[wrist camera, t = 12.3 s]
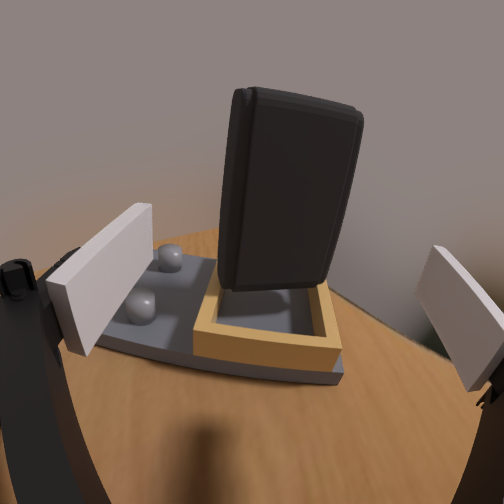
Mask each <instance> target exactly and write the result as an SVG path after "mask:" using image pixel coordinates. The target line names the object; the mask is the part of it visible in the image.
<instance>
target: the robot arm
mask: <svg viewBox="0 0 504 504" xmlns="http://www.w3.org/2000/svg"><path fill="white" fill-rule="evenodd" d="M152 260H153V240H152V204H146V203H135V204H134V205H133V206H131V207H130V208H129V209H127V210H126V211H125V212H124V213H122V214H121V215H120V216H119V217H117V218H116V219H115V220H114V221H112V222H111V223H110V224H109V225H107V226H106V227H105V228H104V229H102V230H101V231H100V232H99V233H98V234H96V235H95V236H94V237H93V238H92V239H90V240H89V241H88V242H87V243H86V244H85V245H83V247H78V248H76V249H74V250H72V251H70V252H68V253H67V254H66V255H64V256H63V257H62V258H61V259H60V261H58V262H56V263H55V264H54V266H53V267H51V268H50V269H49V270H48V271H46V272H45V273H44V274H43V275H42V276H41V277H40V278H39V279H38V280H37V281H36V280H35V276H34V272H33V269H32V265H31V262H30V261H28V260H27V259H14V260H11V261H8V262H6V263H4V264H2V265H1V266H0V295H1V296H0V427H1V428H2V435H3V442H4V448H5V454H6V459H7V464H8V469H9V473H10V478H11V482H12V486H13V489H14V493H15V497H16V500H17V503H18V504H111V502H110V500H109V498H108V496H107V494H106V491H105V489H104V487H103V485H102V483H101V481H100V478H99V476H98V474H97V471H96V469H95V467H94V464H93V462H92V459H91V457H90V454H89V451H88V449H87V446H86V443H85V441H84V438H83V435H82V432H81V429H80V426H79V423H78V420H77V417H76V413H75V410H74V407H73V403H72V400H71V396H70V392H69V388H68V384H67V380H66V376H65V372H64V367H63V363H62V358H61V353H60V350H59V348H58V344H59V343H60V342H61V340H62V339H64V341H65V344H66V347H67V349H68V351H70V352H73V353H76V354H79V355H82V356H85V357H87V356H88V354H89V353H90V351H91V349H92V348H93V346H94V345H95V343H96V341H97V340H98V338H99V337H100V335H101V334H102V332H103V331H104V329H105V328H106V326H107V325H108V323H109V322H110V320H111V319H112V317H113V316H114V314H115V313H116V311H117V310H118V308H119V307H120V305H121V304H122V302H123V301H124V299H125V298H126V296H127V295H128V294H129V292H130V291H131V289H132V288H133V286H134V285H135V284H136V282H137V281H138V279H139V278H140V277H141V275H142V274H143V272H144V271H145V270H146V268H147V267H148V266H149V264H150V263H151V261H152ZM414 294H415V295H416V297H417V299H418V300H419V302H420V304H421V305H422V307H423V309H424V311H425V312H426V314H427V316H428V317H429V319H430V321H431V323H432V325H433V326H434V328H435V330H436V332H437V334H438V335H439V337H440V339H441V341H442V343H443V345H444V347H445V348H446V350H447V352H448V354H449V356H450V358H451V360H452V362H453V364H454V366H455V368H456V370H457V372H458V374H459V376H460V378H461V380H462V383H463V385H464V387H465V389H466V391H467V392H472V391H478V390H480V389H481V388H482V387H483V386H484V384H485V383H486V382H487V381H488V379H489V380H490V382H491V383H492V385H491V386H490V387H489V389H488V390H487V391H486V392H485V394H484V395H483V396H482V397H481V398H480V399H479V401H478V402H477V404H476V406H478V405H479V404H480V403H481V402H484V404H483V405H482V406H481V408H482V409H483V411H482V415H481V419H480V423H479V427H478V430H477V434H476V437H475V441H474V444H473V447H472V450H471V453H470V456H469V459H468V462H467V465H466V468H465V471H464V473H463V476H462V479H461V481H460V484H459V486H458V488H457V491H456V493H455V495H454V498H453V500H452V502H451V504H504V314H503V313H502V312H501V310H500V309H499V308H498V307H497V306H496V304H495V303H494V302H493V301H492V299H491V298H490V297H489V296H488V295H487V293H486V292H485V291H484V290H483V289H482V288H481V286H480V285H479V284H478V283H477V282H476V281H475V280H474V278H473V277H472V276H471V275H470V274H469V273H468V272H467V271H466V270H465V268H464V267H463V266H462V265H461V264H460V263H459V262H458V261H457V260H456V259H455V258H454V257H453V256H452V255H451V254H450V253H449V252H448V251H447V250H446V249H445V248H444V247H440V246H435V245H432V248H431V251H430V254H429V257H428V259H427V262H426V264H425V267H424V270H423V272H422V275H421V277H420V280H419V282H418V285H417V287H416V290H415V292H414Z"/></svg>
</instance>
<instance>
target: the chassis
mask: <svg viewBox="0 0 504 504" xmlns="http://www.w3.org/2000/svg"><path fill="white" fill-rule="evenodd" d="M217 260H218V259H211V258H205V257H198V256H192V255H185V254H182V248H181V247H180V246H178V245H174V244H166V245H162V246H160V247H159V248H158V250H153V260H152V261H151V263H150V264H149V266H148V267H147V268H146V270H145V271H144V272H143V274H142V275H141V277H140V278H139V279H138V281H137V282H136V284H135V285H134V286H133V288H132V289H131V291H130V292H129V294H128V295H127V296H126V298H125V299H124V301H123V302H122V304H121V305H120V307H119V308H118V310H117V311H116V313H115V314H114V316H113V317H112V319H111V320H110V322H109V323H108V325H107V326H106V328H105V329H104V331H103V332H102V334H101V335H100V337H99V338H98V340H97V341H96V343H95V344H96V345H99V346H103V347H106V348H110V349H113V350H117V351H120V352H124V353H128V354H132V355H136V356H140V357H144V358H148V359H152V360H157V361H161V362H166V363H170V364H175V365H180V366H185V367H190V368H195V369H200V370H206V371H212V372H218V373H224V374H230V375H237V376H244V377H252V378H260V379H268V380H278V381H288V382H299V383H313V384H329V385H338V384H339V382H340V380H341V378H342V376H343V374H344V369H343V364H342V359H341V354H340V353H341V350H342V345H341V340H340V336H339V331H338V327H337V323H336V318H335V314H334V310H333V306H332V301H331V297H330V293H329V289H328V285H327V281H326V279H325V281H324V283H322V284H319V285H317V286H316V287H314V288H301V289H285V290H268V291H248V292H232V290H231V289H222V288H221V285H220V282H219V278H218V274H217Z"/></svg>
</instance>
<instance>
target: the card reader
mask: <svg viewBox="0 0 504 504" xmlns="http://www.w3.org/2000/svg"><path fill="white" fill-rule="evenodd" d="M363 128H364V117H363V114H362V113H361V112H360V111H357V110H356V109H355V108H354V107H352V106H349V105H346V104H342V103H338V102H333V101H329V100H325V99H321V98H316V97H312V96H306V95H302V94H297V93H292V92H286V91H280V90H275V89H268V88H261V87H248V88H247V89H243V88H241V89H236V90H235V92H234V95H233V99H232V106H231V114H230V121H229V129H228V138H227V147H226V156H225V166H224V176H223V186H222V197H221V208H220V223H219V240H218V260H217V274H218V278H219V282H220V285H221V288H222V289H231V290H232V292H248V291H268V290H285V289H301V288H314V287H316V286H317V285H319V284H322V283H324V281H325V279H326V277H327V274H328V271H329V267H330V264H331V261H332V258H333V254H334V251H335V248H336V244H337V241H338V237H339V234H340V231H341V226H342V223H343V219H344V215H345V211H346V206H347V203H348V199H349V195H350V190H351V186H352V181H353V177H354V172H355V168H356V163H357V159H358V154H359V149H360V144H361V139H362V133H363Z"/></svg>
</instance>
